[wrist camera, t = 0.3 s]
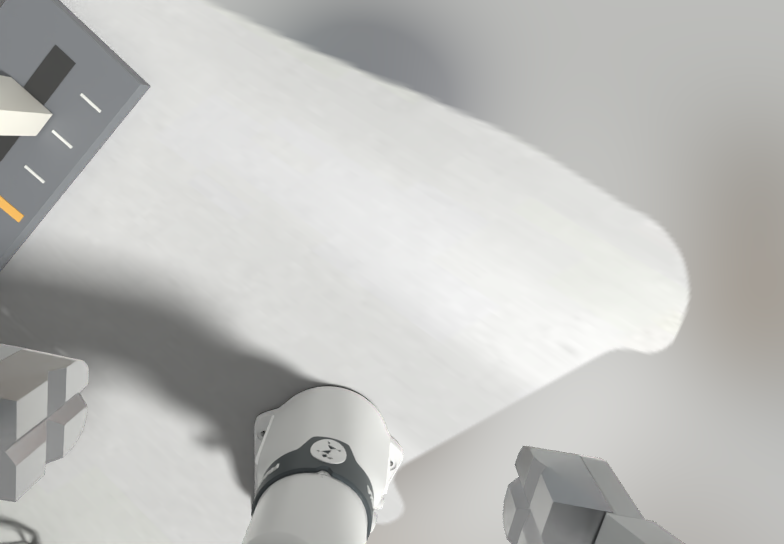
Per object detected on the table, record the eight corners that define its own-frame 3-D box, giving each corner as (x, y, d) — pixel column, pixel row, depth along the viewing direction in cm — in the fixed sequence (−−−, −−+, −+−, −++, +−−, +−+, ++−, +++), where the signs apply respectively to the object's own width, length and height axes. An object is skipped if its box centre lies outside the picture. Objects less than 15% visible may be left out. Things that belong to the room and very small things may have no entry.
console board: (38, -20, 49) (22, -27, 47) (150, 86, 51) (140, 83, 49) (-116, 196, 55) (-136, 198, 53) (-9, 282, 57) (-24, 287, 55)
